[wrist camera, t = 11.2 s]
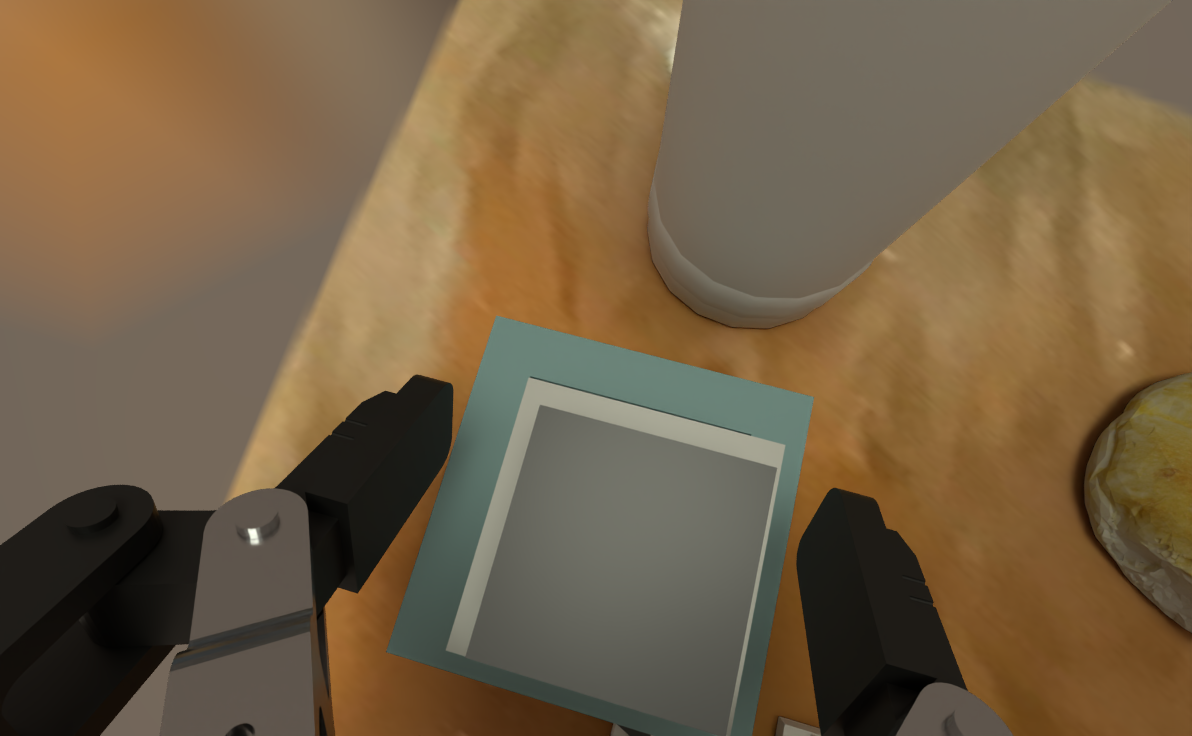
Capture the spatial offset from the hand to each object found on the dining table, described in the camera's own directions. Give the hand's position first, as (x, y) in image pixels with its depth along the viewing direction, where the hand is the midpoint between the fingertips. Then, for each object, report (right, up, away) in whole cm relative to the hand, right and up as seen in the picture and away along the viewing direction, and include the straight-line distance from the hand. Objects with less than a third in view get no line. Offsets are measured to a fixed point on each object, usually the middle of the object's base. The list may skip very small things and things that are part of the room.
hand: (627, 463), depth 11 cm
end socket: (0, -3, +7) cm, 8 cm away
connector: (0, -3, +6) cm, 7 cm away
